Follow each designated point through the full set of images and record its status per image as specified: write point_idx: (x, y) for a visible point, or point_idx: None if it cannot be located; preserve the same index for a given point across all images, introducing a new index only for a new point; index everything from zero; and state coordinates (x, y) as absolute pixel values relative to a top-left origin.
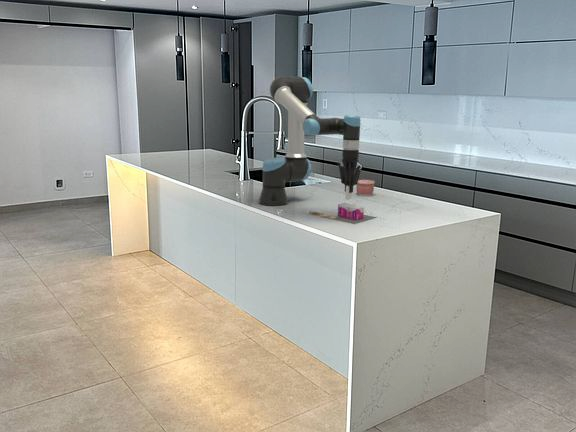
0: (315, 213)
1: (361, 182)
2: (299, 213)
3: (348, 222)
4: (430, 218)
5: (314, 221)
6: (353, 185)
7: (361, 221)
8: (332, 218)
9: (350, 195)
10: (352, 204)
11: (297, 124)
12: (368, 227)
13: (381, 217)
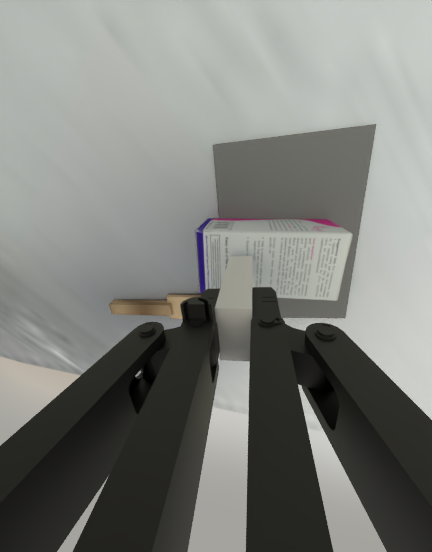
0: (142, 313)
1: None
2: (93, 321)
3: (311, 317)
4: None
5: None
6: (291, 335)
7: (350, 270)
8: None
9: (252, 279)
10: (255, 235)
11: None
12: (418, 314)
13: (391, 78)
